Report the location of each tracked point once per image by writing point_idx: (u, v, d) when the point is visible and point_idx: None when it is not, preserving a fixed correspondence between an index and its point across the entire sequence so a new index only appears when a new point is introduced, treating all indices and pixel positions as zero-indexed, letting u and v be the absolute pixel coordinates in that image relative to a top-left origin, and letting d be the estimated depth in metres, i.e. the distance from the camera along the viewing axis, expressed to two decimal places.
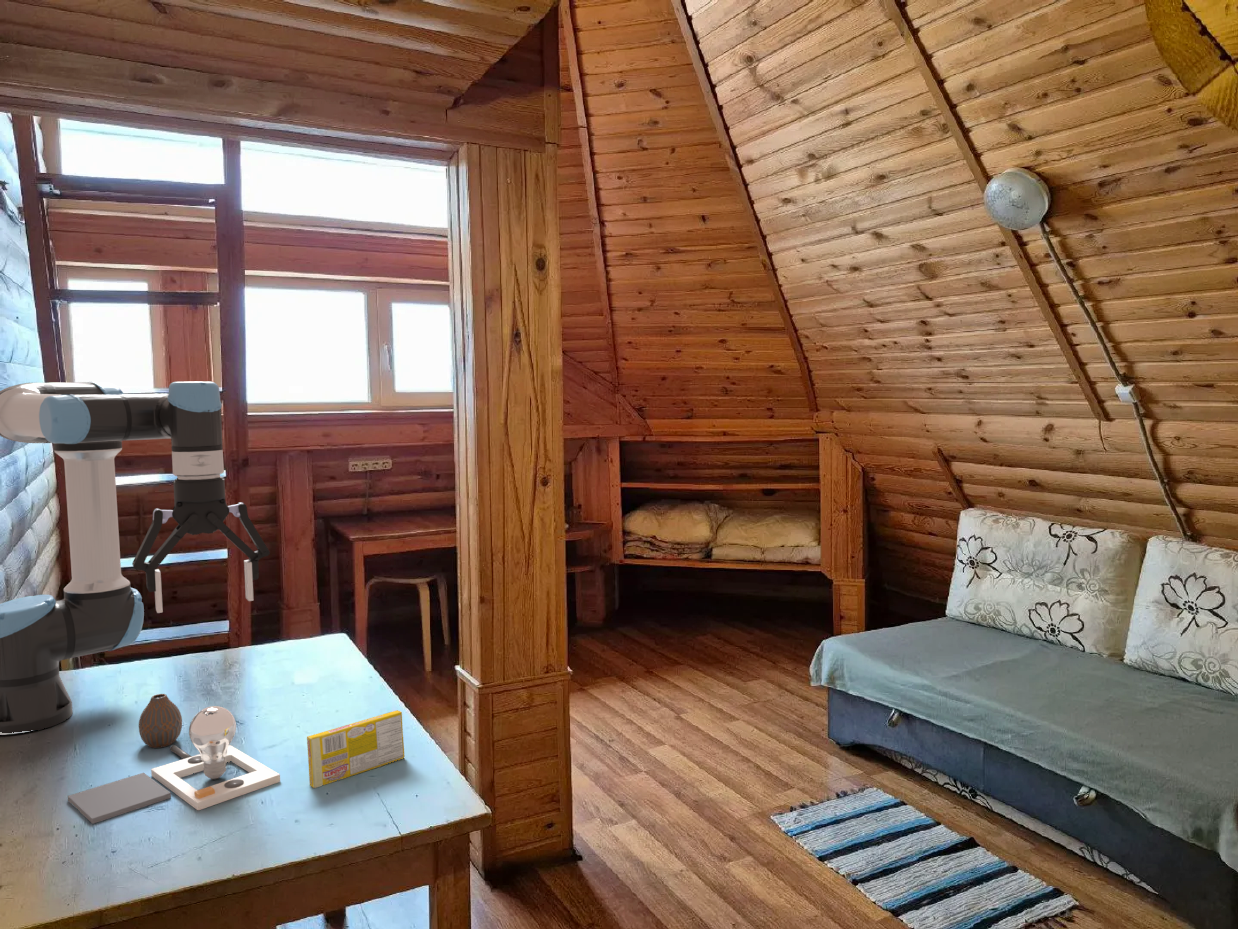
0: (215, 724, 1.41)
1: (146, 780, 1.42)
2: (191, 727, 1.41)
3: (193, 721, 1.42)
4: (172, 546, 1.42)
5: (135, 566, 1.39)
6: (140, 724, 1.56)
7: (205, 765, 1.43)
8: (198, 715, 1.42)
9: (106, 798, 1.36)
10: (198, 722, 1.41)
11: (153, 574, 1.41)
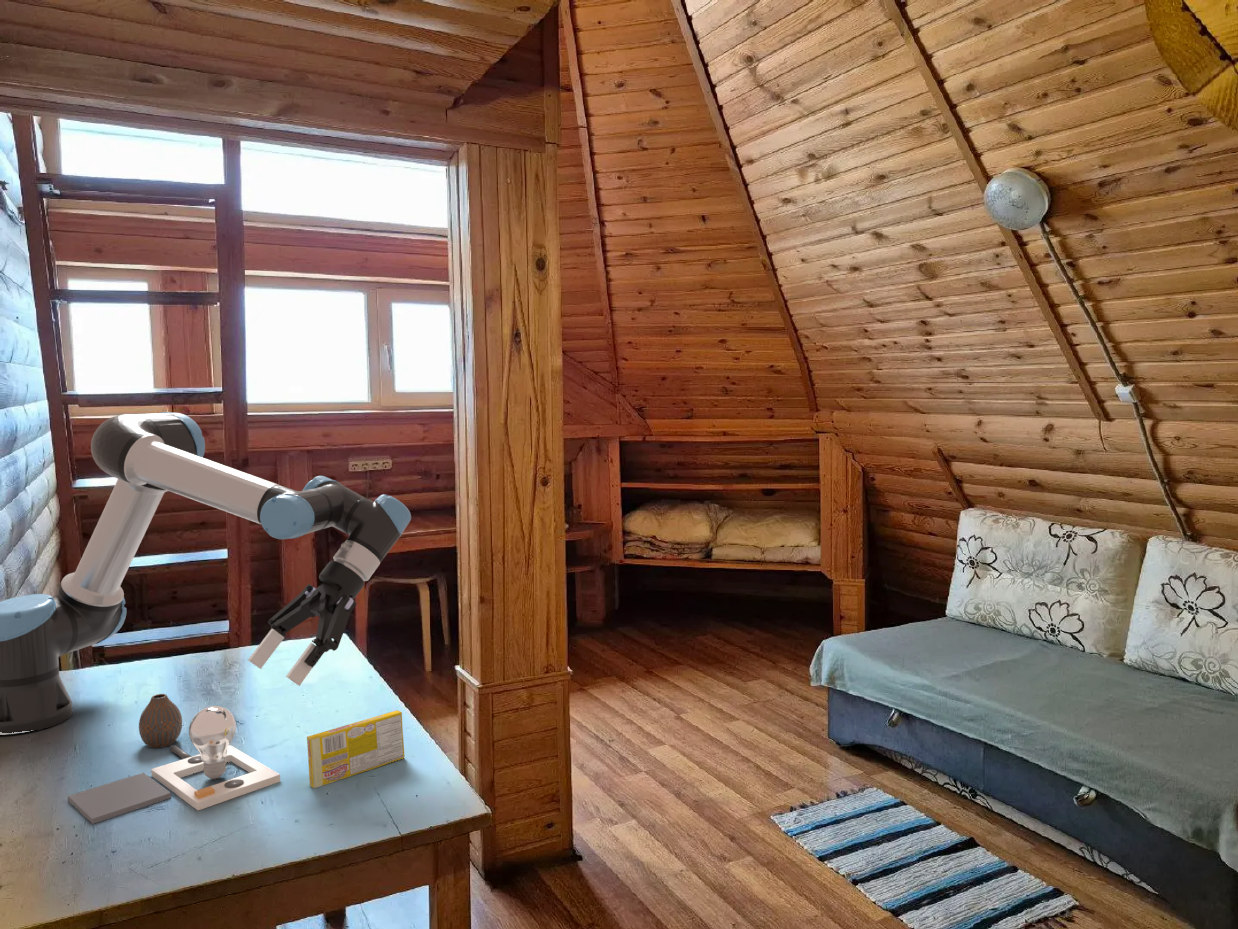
0: (215, 724, 1.41)
1: (146, 780, 1.42)
2: (191, 727, 1.41)
3: (193, 721, 1.42)
4: (293, 613, 1.58)
5: (269, 620, 1.60)
6: (140, 724, 1.56)
7: (205, 765, 1.43)
8: (198, 715, 1.42)
9: (106, 798, 1.36)
10: (198, 722, 1.41)
11: None
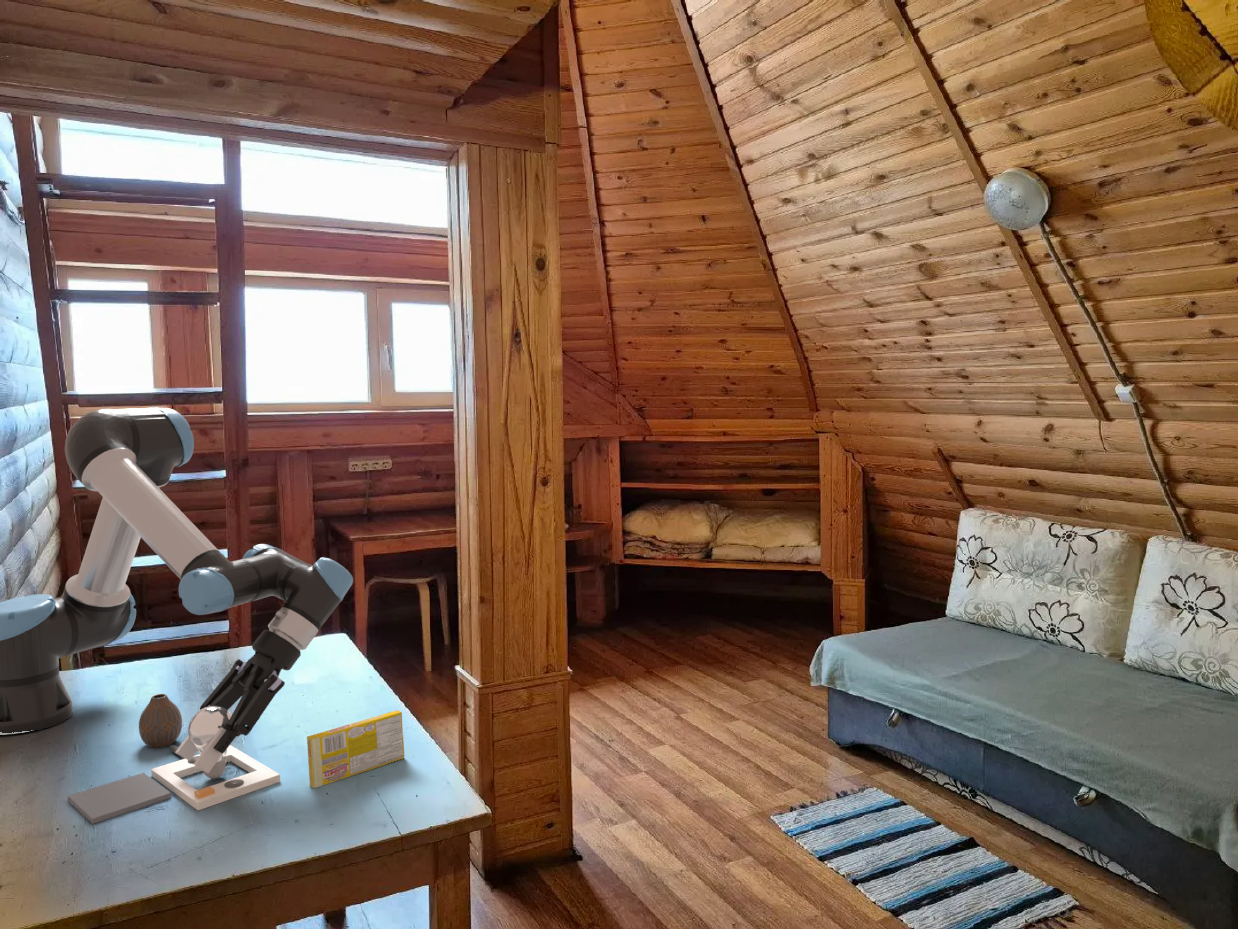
0: (214, 723, 1.41)
1: (146, 780, 1.42)
2: (190, 727, 1.41)
3: (192, 721, 1.42)
4: (226, 692, 1.48)
5: (201, 706, 1.49)
6: (140, 724, 1.56)
7: None
8: (197, 715, 1.42)
9: (106, 798, 1.36)
10: (197, 721, 1.41)
11: None
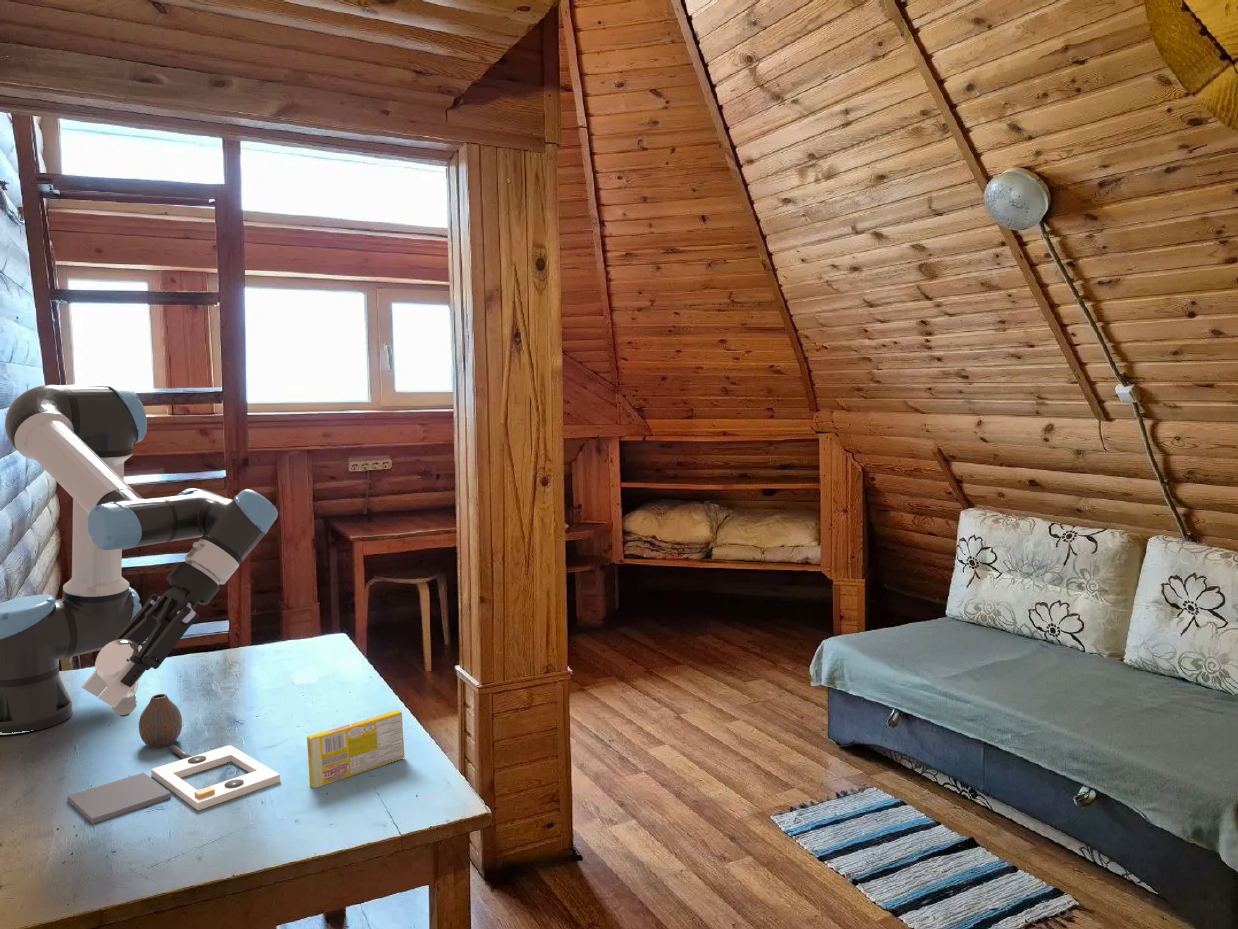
0: (122, 656, 1.34)
1: (146, 780, 1.42)
2: (97, 660, 1.34)
3: (99, 654, 1.34)
4: (138, 626, 1.40)
5: (111, 641, 1.41)
6: (140, 724, 1.56)
7: None
8: (104, 647, 1.35)
9: (106, 798, 1.36)
10: (103, 654, 1.34)
11: None
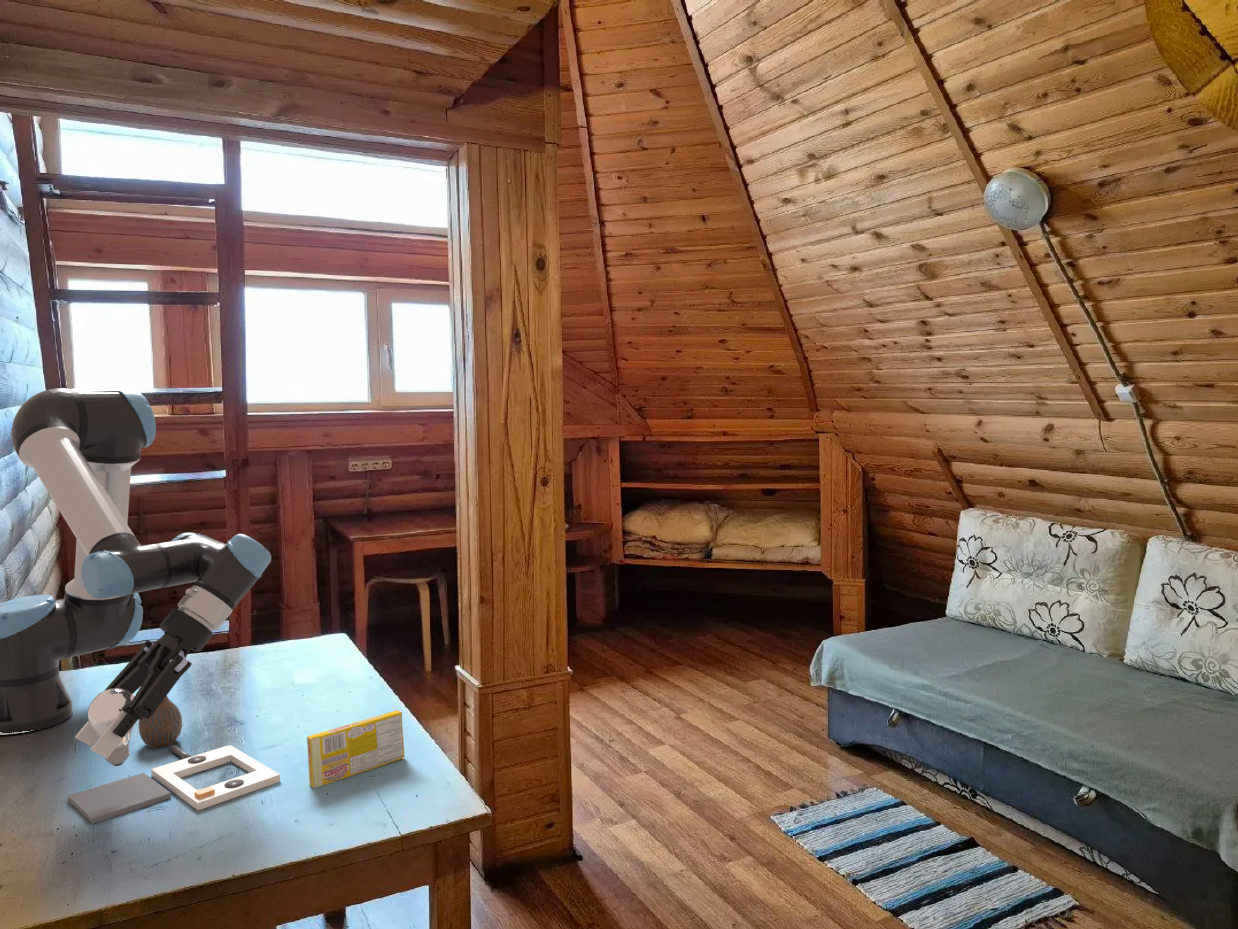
0: (114, 706, 1.34)
1: (146, 780, 1.42)
2: (89, 710, 1.34)
3: (91, 704, 1.34)
4: (131, 674, 1.40)
5: (105, 689, 1.41)
6: (140, 724, 1.56)
7: None
8: (97, 697, 1.35)
9: (106, 798, 1.36)
10: (96, 704, 1.34)
11: None
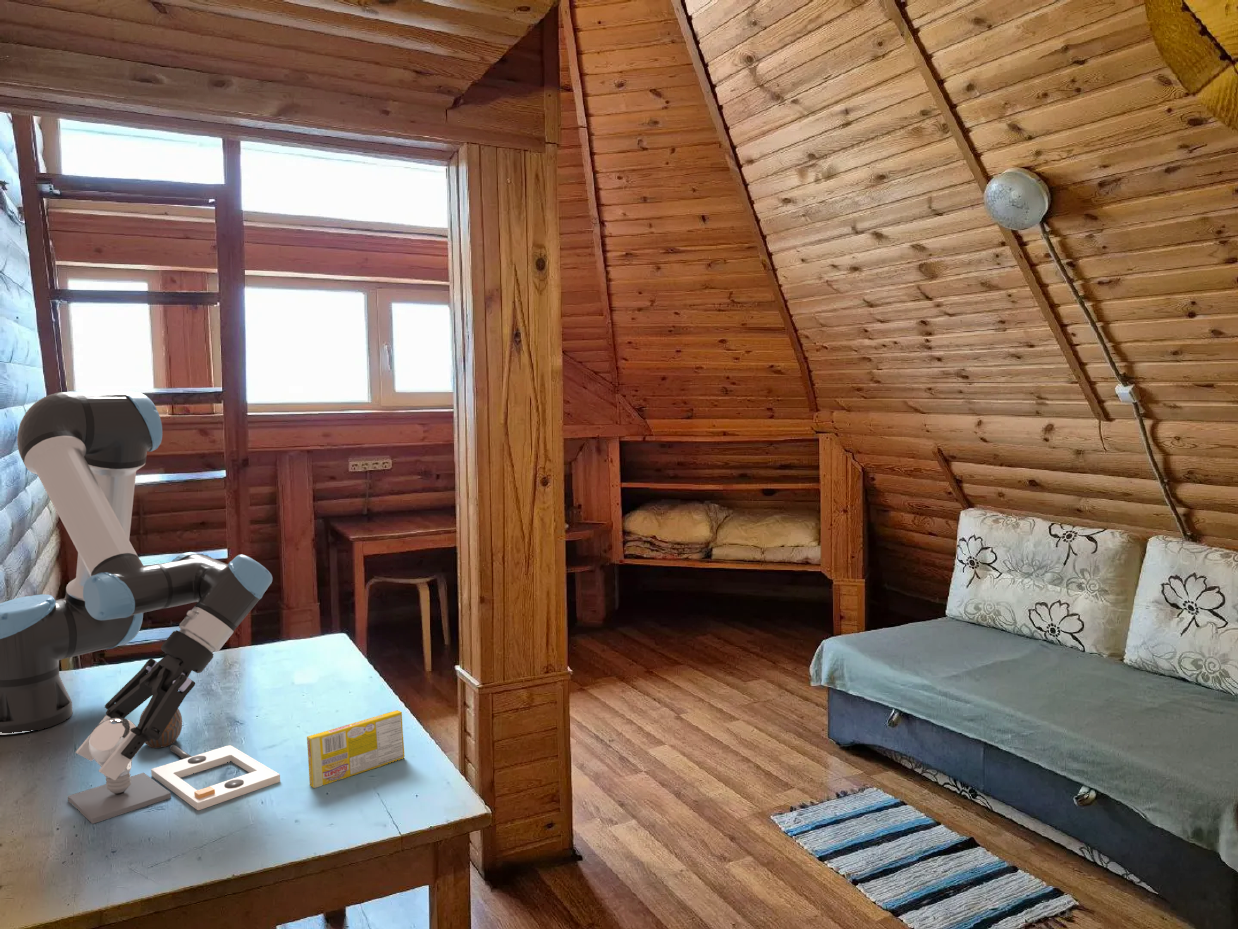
0: (114, 737, 1.34)
1: (146, 780, 1.42)
2: (89, 741, 1.34)
3: (91, 734, 1.35)
4: (131, 693, 1.41)
5: (106, 704, 1.43)
6: None
7: (107, 779, 1.36)
8: (97, 728, 1.35)
9: (106, 798, 1.36)
10: (96, 735, 1.34)
11: None
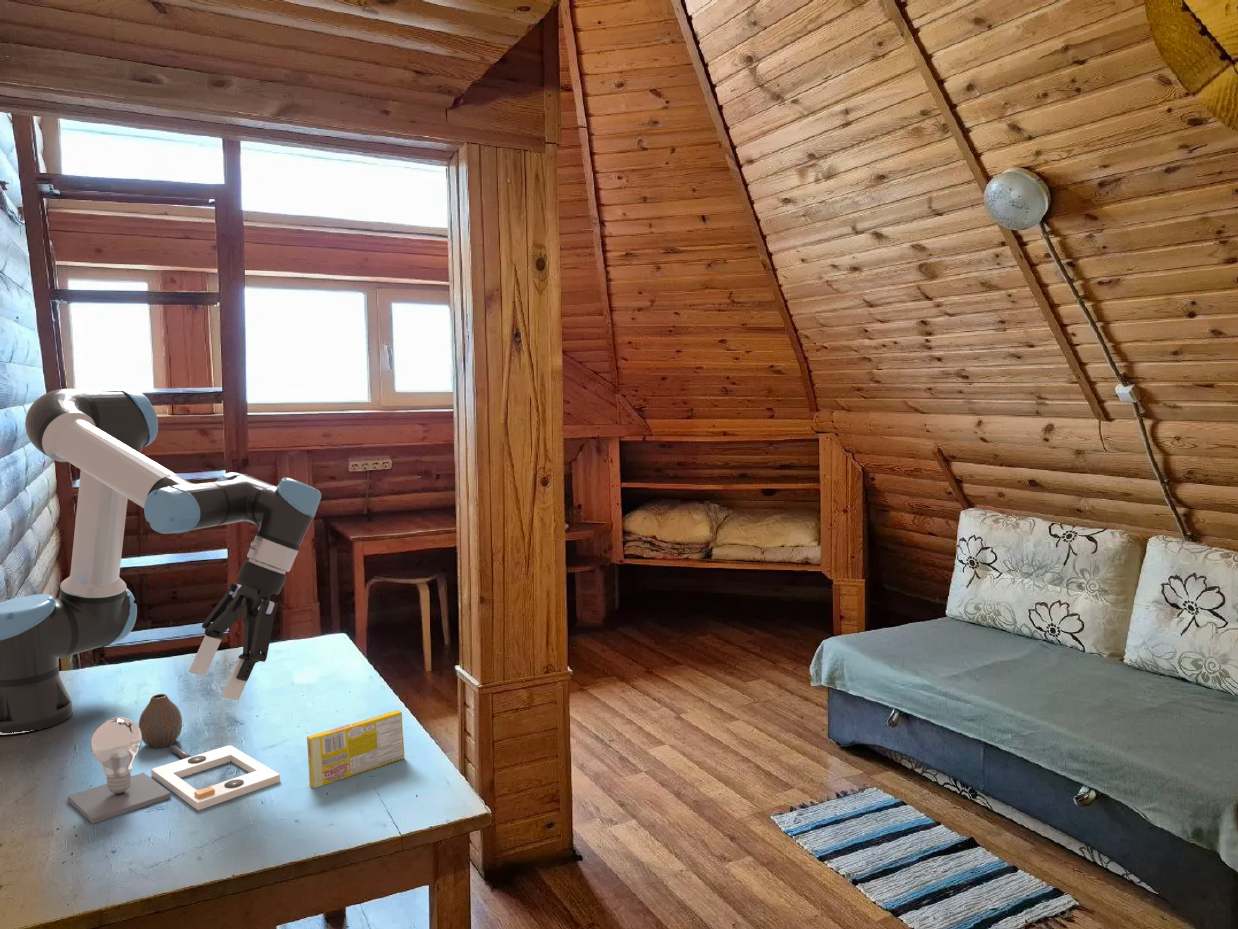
0: (116, 736, 1.34)
1: (146, 780, 1.42)
2: (92, 739, 1.35)
3: (94, 733, 1.35)
4: (222, 617, 1.53)
5: (202, 624, 1.56)
6: (140, 724, 1.56)
7: (108, 779, 1.36)
8: (100, 727, 1.35)
9: (106, 798, 1.36)
10: (98, 734, 1.34)
11: None
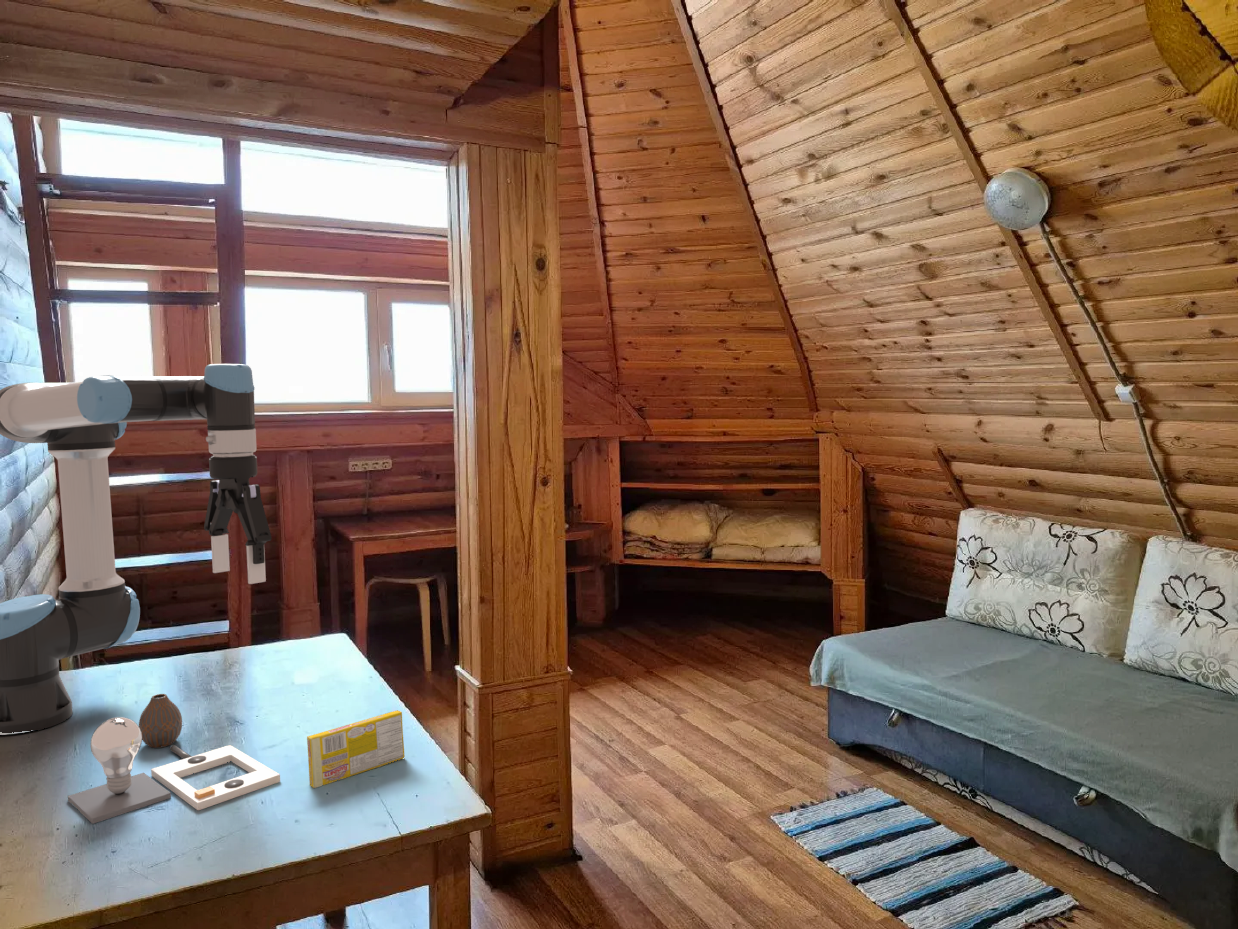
0: (116, 736, 1.34)
1: (146, 780, 1.42)
2: (92, 739, 1.35)
3: (94, 733, 1.35)
4: (217, 515, 1.55)
5: None
6: (140, 724, 1.56)
7: (108, 779, 1.36)
8: (100, 727, 1.35)
9: (106, 798, 1.36)
10: (98, 734, 1.34)
11: None
